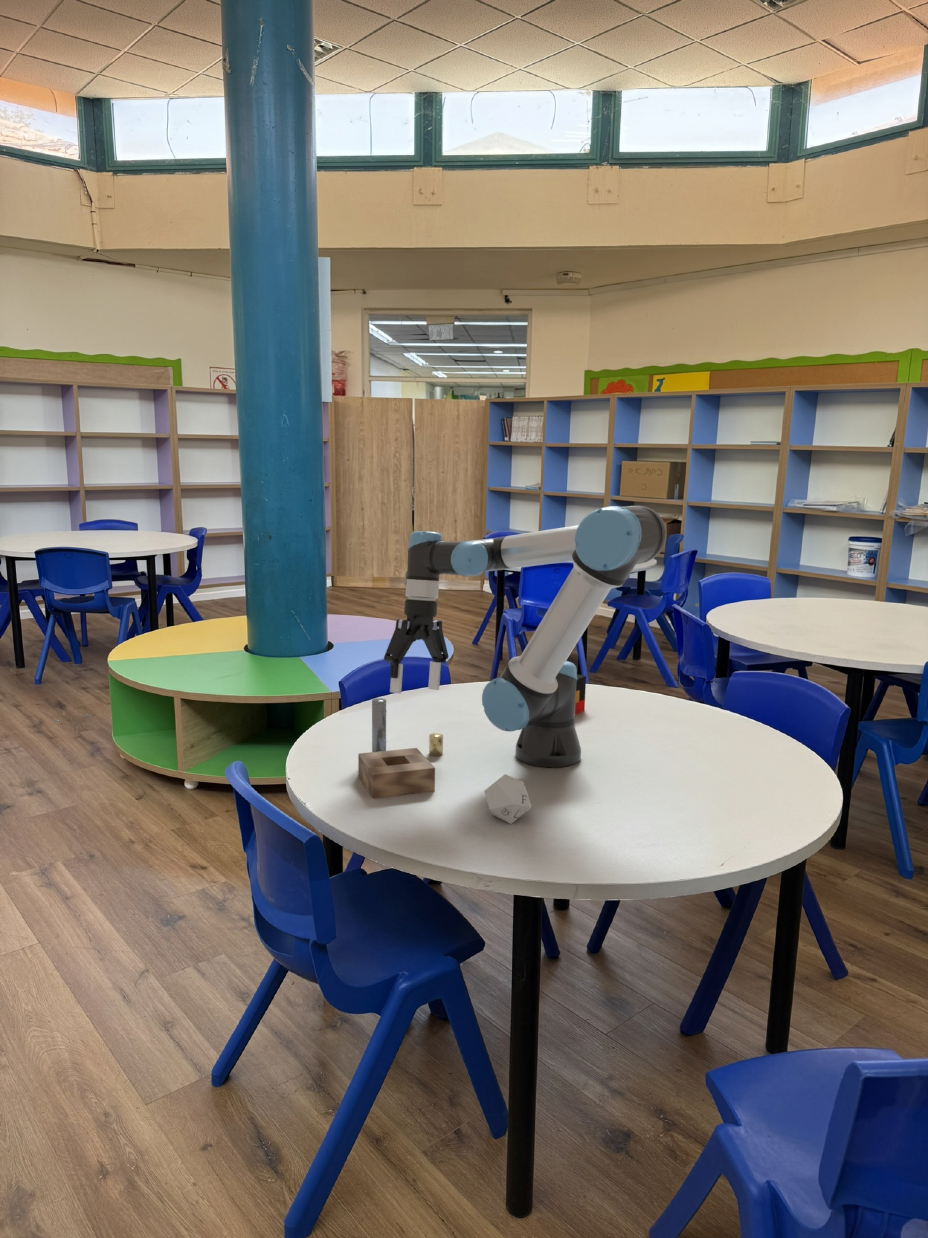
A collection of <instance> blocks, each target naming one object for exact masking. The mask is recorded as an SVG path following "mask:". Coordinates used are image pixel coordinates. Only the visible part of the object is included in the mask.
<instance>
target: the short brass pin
mask: <svg viewBox="0 0 928 1238" xmlns="http://www.w3.org/2000/svg"><path fill="white" fill-rule="evenodd" d="M428 737H429V738H428V755H430V756H432V757H440V756H442V755H444V752H443V751H444V734H442V733H438V732H436V733H435V732H433V733H429V735H428Z"/></svg>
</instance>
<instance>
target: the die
mask: <svg viewBox="0 0 928 1238" xmlns="http://www.w3.org/2000/svg"><path fill="white" fill-rule="evenodd" d="M484 794H485V798H486V801H487V802H486V803H487V805H488V809H489V811H490V813H491V815H492V816H493V817H496V818H498V819H499V820H501V821H504V822H506V823H508V824H510V825H512V824H513V823H514V822H515V821H517V820H518V819H519V818H520V817H522V816H523V815H524V814H525V813H527V812H528V811H529V810H530V809H531V808H533V807H532V803H531V800H530V797H529V793H528V791H527V787H526V786H525V782H524V781H523V780H520V779H518V778H516V777H513V776H510V775H508V774H506V773H504V774H502V776H501V777H500V778H498V779H497V780H496V781H494V783H492V784H491V785H489V786H488V787H487V788H485V790H484Z"/></svg>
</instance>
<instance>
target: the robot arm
mask: <svg viewBox="0 0 928 1238" xmlns="http://www.w3.org/2000/svg"><path fill="white" fill-rule="evenodd" d="M442 535H443V534H441V533H439V532H437V531H436V532H435V531H423V530H422V531H419V530H418V531H417V530H415V531H412V532H411V533H410V535H409V539H408V540H409V542H408V547H407V569H406V570H407V572H406V582H405V583H406V585H405V586H406V587H405V597H406V598H407V599H405V600H404V610H403V614H404V615H405V616H406V619H396V621H395V626H394V627H395V629H394V631H393V633H392V636H391V639H390V641H389V644H388V646H387V649H386V650H385V654H384V656H383V660H385V661H386V662H387V664H390V667H389V668H390V670H389V677H390V684H389V687H390V688H389V693H394V694H402V687H403V685H402V684H403V672H404V671H403V670H404V663H403V664H401V663H402V661H403V659H404V658H405V656H406V655H407V654H408V652H409V650H410V648H411V646H412V645H413V644H414V642H416V641H420V640H422V641H423V643H424V644H425V646H426V648H427V651H428V652H429V655H430V658H431V659H432V661H429V672H428V674H429V675H428V690H434V691H439V690H440V681H441V674H442V663H446V662H447V660H448V659H449V653H448V649H447V643H446V640H445V635H444V633H443V621H442V620H436V619H434V618H436V617H437V615H438V601H436V600H437V599H438V598H439V590H440V589H439V588H440V577H441V576H440V575H450V576H461V577H465V578H466V577H478V576H480V575H482V573H485V572H493V571H503V570H509V569H516V568H524V567H534V566H535V567H536V566H544V565H550V564H560V563H568V562H572V564H573V567H572V569H571V571H570V573H569V574H568V575H567V577H566V579H565V581H564V582H563V584H562V586H561V587H560V589H559V590H558V592H557V594H556V596H555V597H554V599H553V600H552V602H551V604H550V606H549V607H548V609H547V611H546V612H545V614H544V615H543V618H542V620H541V621H540V622H539V624H538V626H537V627H536V629H535V631H534V633H533V634H532V636H531V638H530V640H529V641H528V642H527V645H526V646H525V648H524V650H523V651H522V653H521V655H518V656H513V657H512V658H511V659H510V660H509V661H508V663H507V665H506V666H505V668H504V669H503V671H502V672H501V674H500V676H499V677H496V678H493V679H492V680H490V681H489V682H488V683H487V684H486V685H485V686H484V688H483V690H482V694H481V705H482V706H483V712H484V714H485V716H486V717H487V719H488V721H489V722H490V723H491V724H492V725H493V726H494V727H496V728H497V729H499V730H501V731H504V732H511V733H512V732H515V731H520V730H521V731H520V732H519V733H520V734H519V735H518V736H519V737H517V740H516V741H517V742H516V743H515V758H516V759H518V760H519V761H520V762H521V763H522V762H523V763H525V764H527V765H531V766H535V767H541V768H563V767H569V766H573V765H575V764H577V763H579V762H580V761H581V759H582V755H581V754H582V747H581V744H580V741H579V738H578V737H579V736H578V733H577V730H576V725H575V718H576V715H575V704H576V685H577V671H578V670H577V665H575V664H574V663H573V662H571V661H568V658H569V656H571V653H572V651H573V650H574V648H575V647H576V646H577V644H578V642H579V641H580V639H581V638H582V636H583V635H584V632H585V631H586V630H587V628H588V626H589V625H590V624H591V621H592V620H593V618H594V617H595V615H596V614H597V612H598V611H599V609H600V608H601V606H602V604H603V603H604V601H605V600H606V597H607V596H608V595H609V593H610V592H611V590H612V589H615V588H620V587H622V586H623V585H624V584H625V583H626V581H627V579H628V577H629V576H630V575H631V573H632V571H633V570H634V568H635V567H636V565H640V564H644V563H648V562H650V561H652V560H654V558H656V557H658V556H659V554H660V553H661V552H662V550H663V549H664V547H665V544H666V542H667V535H668V534H667V527H666V524H665V522H664V520H663V518H662V517H661V515H660V514H659V513H658V512H657V511H655V510H654V509H652V508H649V507H647V506H644V505H643V506H642V505H630V506H629V505H628V506H620V505H618V506H617V505H609V506H604V507H601V508H598V509H595V510H593V511H591V512H590V513H588V514H587V515H586V516H584V518H582V520H581V521H580V523H579V524H577V525H571V526H566V527H565V526H564V527H559V528H558V527H557V528H551V529H546V530H545V529H544V530H540V531H539V530H537V531H532V532H527V533H525V532H524V533H518V534H514V535H507V536H499V537H498V536H497V537H491V538H484V539H483V538H482V539H471V540H462V541H461V540H460V541H459V540H458V541H457V540H456V541H454V540H453V541H443V536H442Z"/></svg>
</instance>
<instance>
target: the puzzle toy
mask: <svg viewBox="0 0 928 1238" xmlns="http://www.w3.org/2000/svg"><path fill="white" fill-rule="evenodd" d="M586 684H587V675H583V674H577V685H576V704H575V716H576V715H578V714H581V713H582V712H584V711H585V709H586V708H585V707H586V688H587V686H586Z"/></svg>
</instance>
